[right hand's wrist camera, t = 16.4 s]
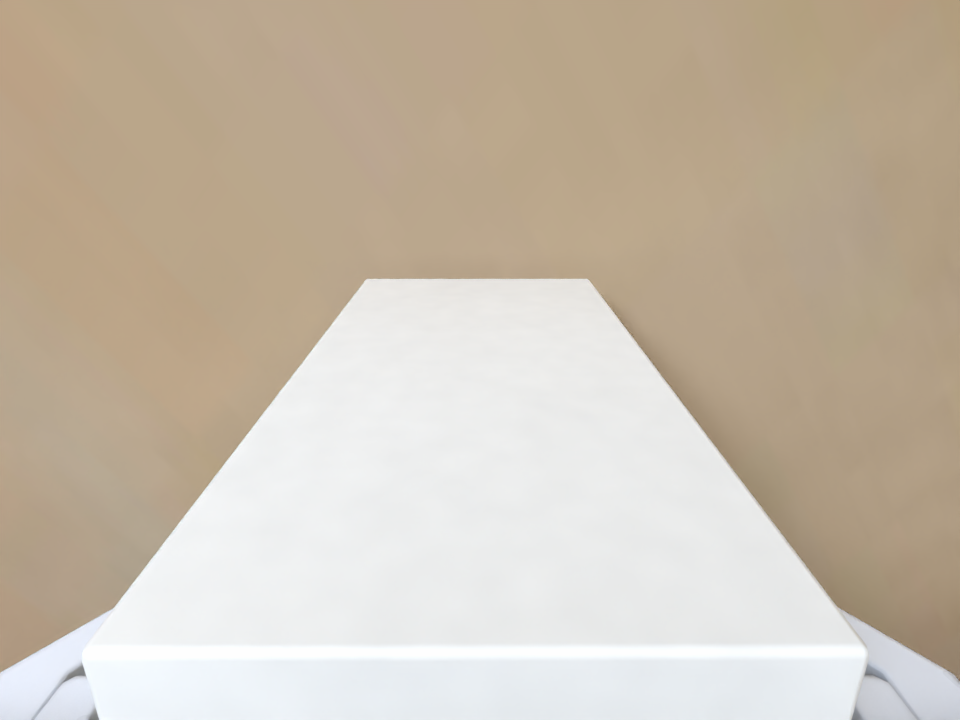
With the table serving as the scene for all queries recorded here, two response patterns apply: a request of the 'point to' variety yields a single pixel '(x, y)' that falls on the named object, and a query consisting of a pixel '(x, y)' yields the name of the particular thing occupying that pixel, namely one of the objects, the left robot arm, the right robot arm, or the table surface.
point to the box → (476, 540)
